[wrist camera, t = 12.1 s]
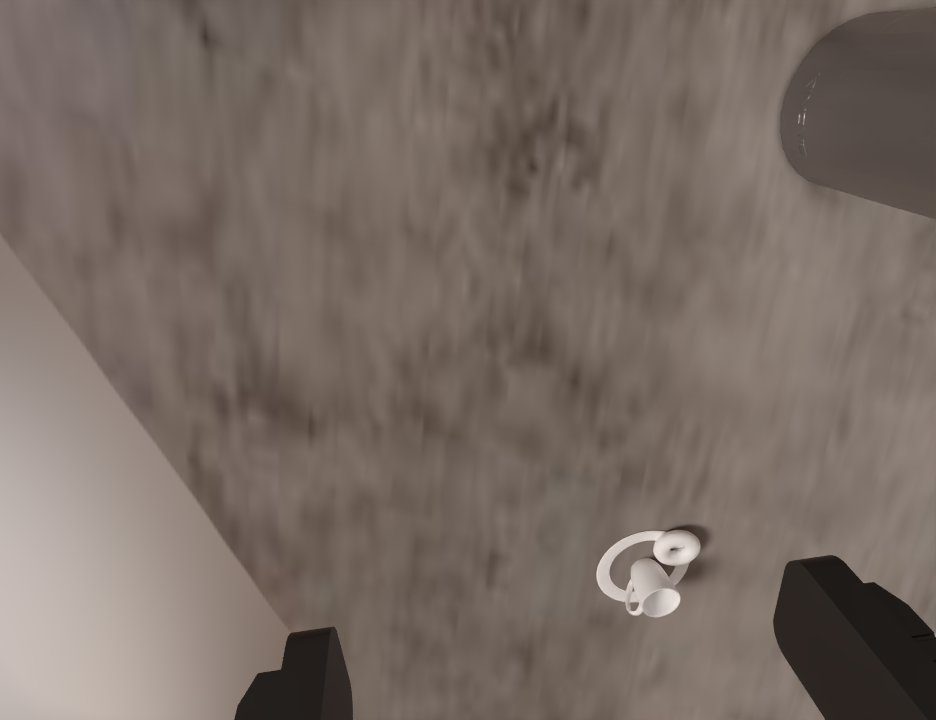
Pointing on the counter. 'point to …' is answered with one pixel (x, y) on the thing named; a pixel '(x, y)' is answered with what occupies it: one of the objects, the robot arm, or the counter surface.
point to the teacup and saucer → (651, 571)
